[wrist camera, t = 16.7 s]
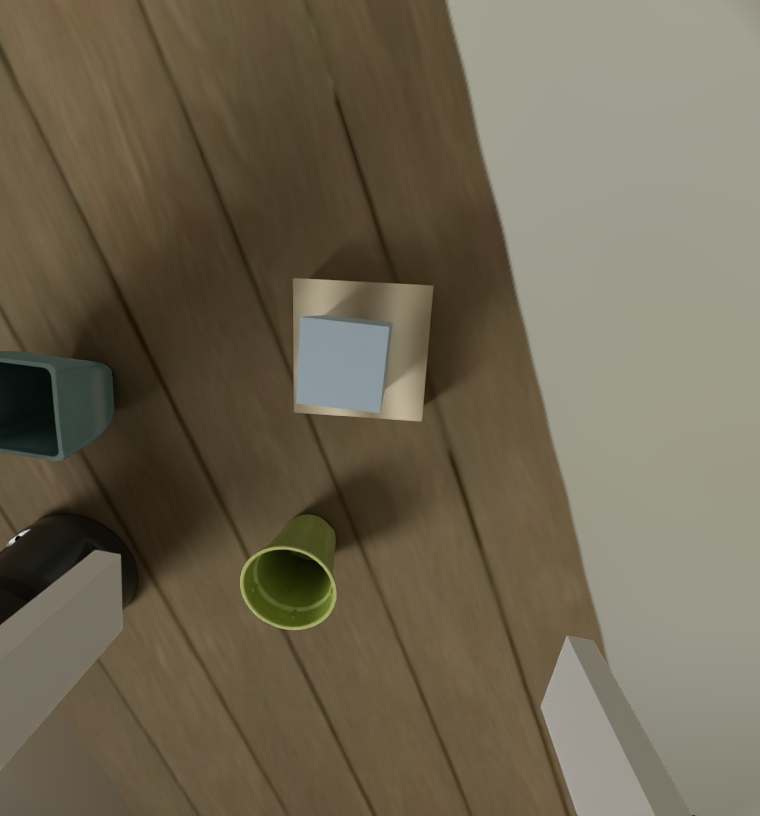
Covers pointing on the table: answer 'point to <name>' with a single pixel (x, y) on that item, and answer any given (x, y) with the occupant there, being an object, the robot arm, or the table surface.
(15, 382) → the flower pot
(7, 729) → the robot arm
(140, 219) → the table surface
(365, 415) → the birch block
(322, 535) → the plant pot
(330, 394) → the slate blue block
